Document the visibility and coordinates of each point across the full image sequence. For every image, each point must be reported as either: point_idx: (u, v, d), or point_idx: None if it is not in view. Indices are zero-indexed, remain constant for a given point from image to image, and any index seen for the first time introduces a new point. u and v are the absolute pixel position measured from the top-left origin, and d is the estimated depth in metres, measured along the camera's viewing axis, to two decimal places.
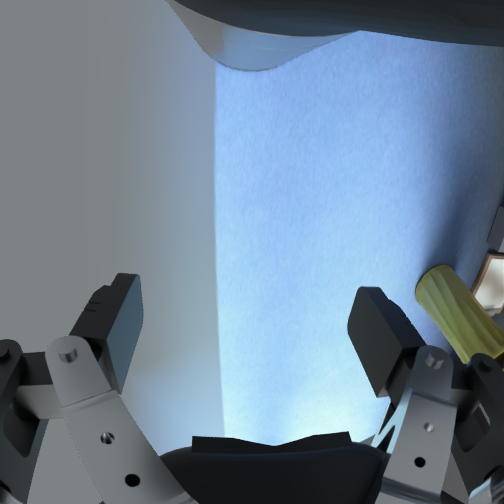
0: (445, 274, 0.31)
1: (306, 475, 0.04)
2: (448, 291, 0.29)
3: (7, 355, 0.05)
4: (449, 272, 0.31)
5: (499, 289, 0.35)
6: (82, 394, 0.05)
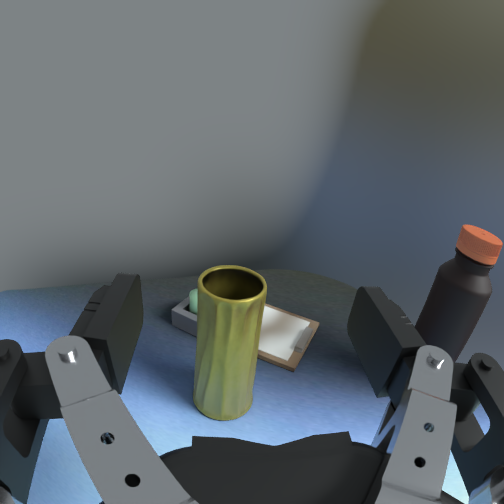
0: None
1: (306, 475, 0.04)
2: (195, 373, 0.27)
3: (7, 355, 0.05)
4: None
5: (277, 326, 0.41)
6: (82, 394, 0.05)
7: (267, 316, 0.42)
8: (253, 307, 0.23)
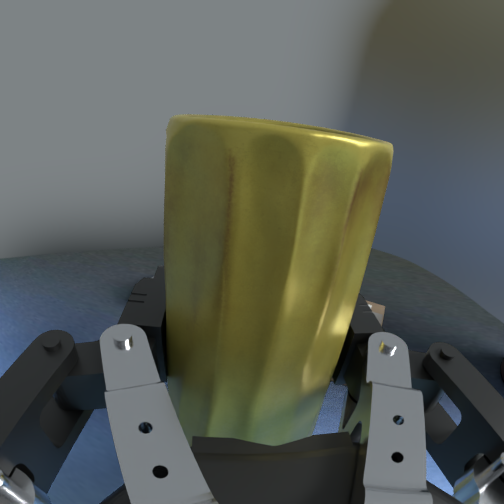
0: None
1: (306, 475, 0.04)
2: None
3: (59, 345, 0.06)
4: None
5: None
6: (130, 382, 0.06)
7: None
8: (370, 186, 0.06)
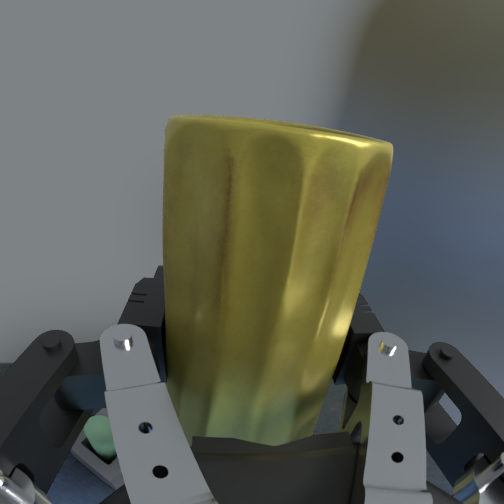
0: None
1: (306, 475, 0.04)
2: None
3: (59, 345, 0.06)
4: None
5: None
6: (130, 381, 0.06)
7: None
8: (370, 186, 0.06)
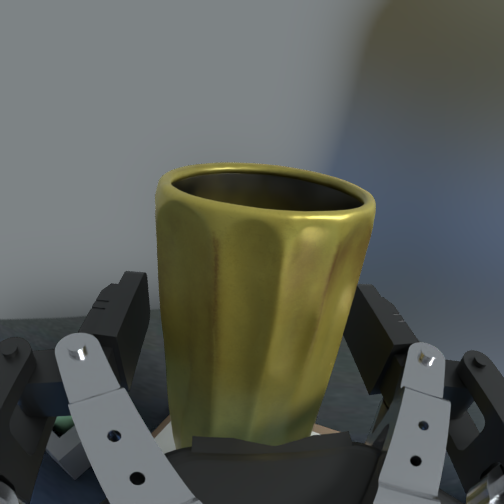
0: None
1: (306, 475, 0.04)
2: (174, 436, 0.11)
3: (16, 353, 0.06)
4: None
5: None
6: (91, 391, 0.05)
7: None
8: (350, 251, 0.06)
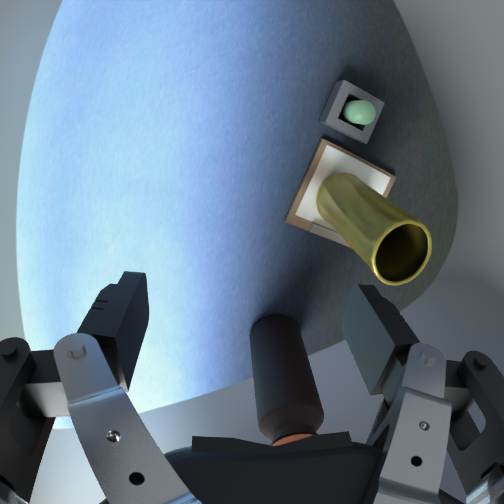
0: (351, 178, 0.31)
1: (306, 475, 0.04)
2: (350, 185, 0.29)
3: (15, 353, 0.06)
4: (357, 179, 0.31)
5: None
6: (89, 391, 0.05)
7: None
8: None
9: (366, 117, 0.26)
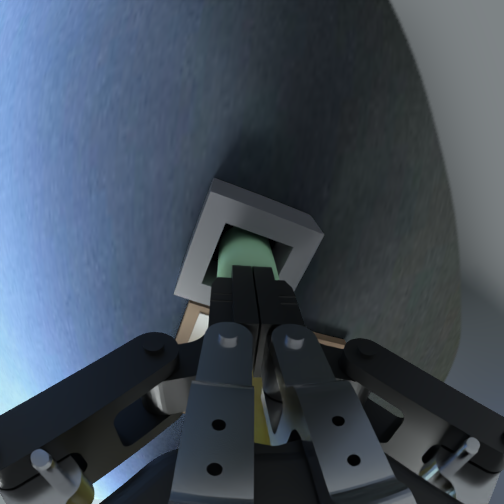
0: None
1: (306, 475, 0.04)
2: None
3: (163, 348, 0.07)
4: None
5: None
6: (221, 378, 0.06)
7: None
8: None
9: None
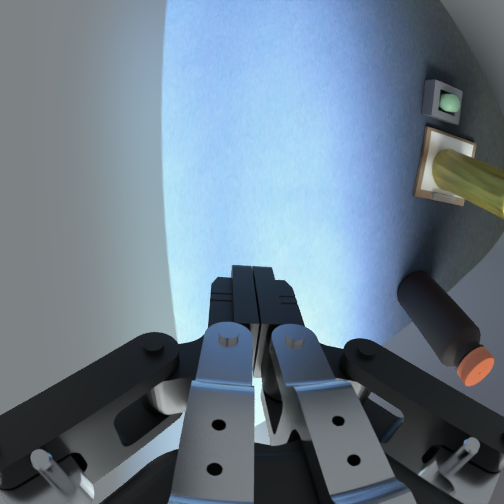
0: (454, 152, 0.34)
1: (306, 475, 0.04)
2: (459, 159, 0.32)
3: (163, 349, 0.07)
4: (457, 152, 0.35)
5: None
6: (221, 378, 0.06)
7: None
8: (502, 216, 0.26)
9: (455, 106, 0.30)
